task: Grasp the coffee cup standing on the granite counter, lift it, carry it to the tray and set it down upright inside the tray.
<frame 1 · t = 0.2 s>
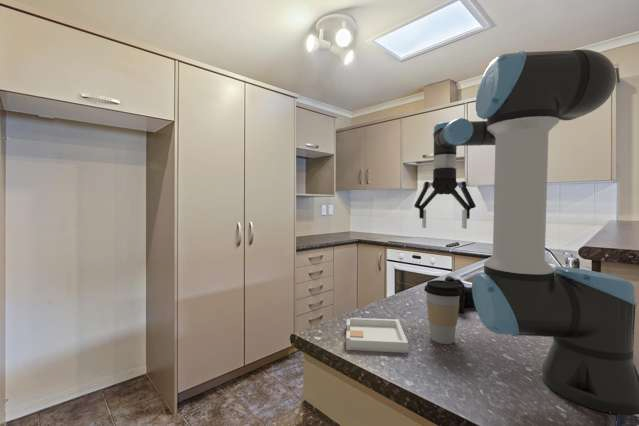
hand: (443, 228, 109), 28 cm above the counter, fingers open, 13 cm apart
tray: (374, 338, 83), on the counter
coffee cup: (442, 340, 82), on the counter
camera: (462, 307, 108), on the counter
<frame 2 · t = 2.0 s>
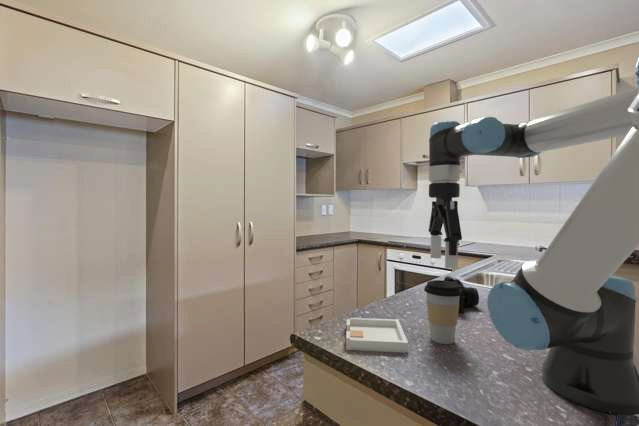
hand: (442, 262, 81), 21 cm above the counter, fingers open, 13 cm apart
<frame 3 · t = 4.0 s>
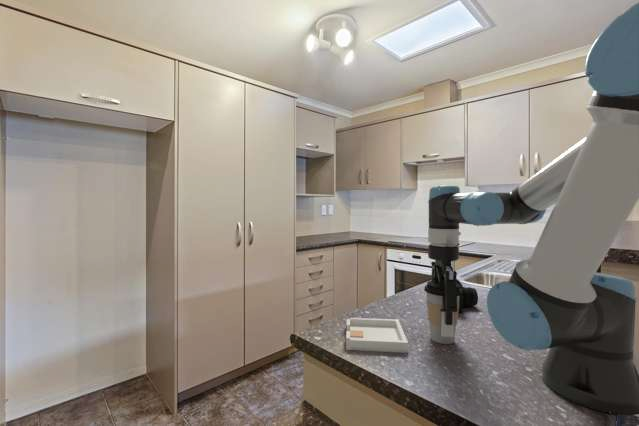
hand: (442, 329, 82), 3 cm above the counter, fingers closed on coffee cup, 8 cm apart
coffee cup: (442, 340, 82), on the counter, touching gripper
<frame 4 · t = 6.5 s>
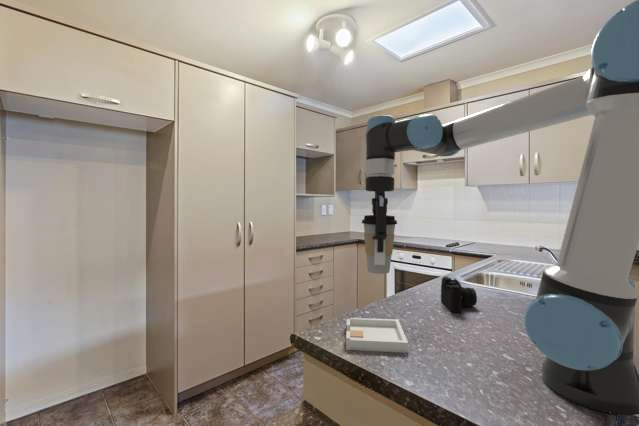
hand: (378, 261, 82), 21 cm above the counter, fingers closed on coffee cup, 8 cm apart
coffee cup: (378, 272, 82), point 18 cm above the counter, touching gripper
when the fingers open (4 cm above the counter, at t = 9.1 s): coffee cup stays where it is, resting on tray.
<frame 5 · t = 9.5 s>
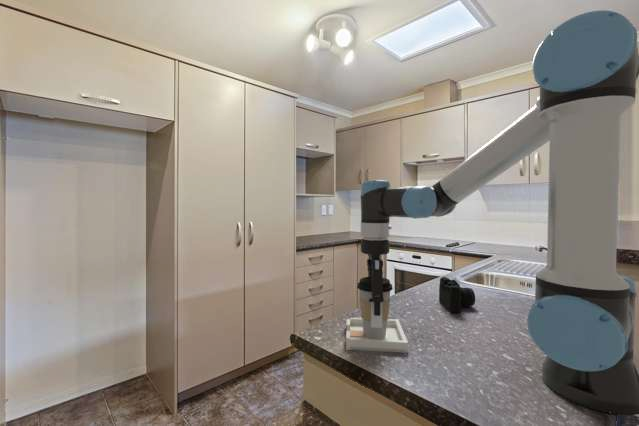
hand: (374, 317, 82), 6 cm above the counter, fingers open, 13 cm apart
coffee cup: (374, 336, 82), point 1 cm above the counter, touching tray
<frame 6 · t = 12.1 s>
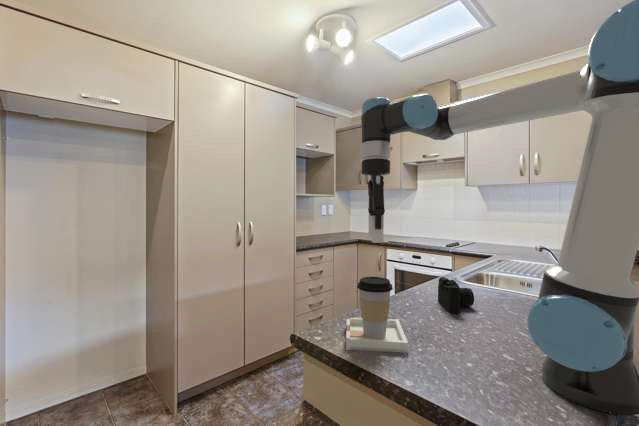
hand: (375, 239, 82), 27 cm above the counter, fingers open, 13 cm apart
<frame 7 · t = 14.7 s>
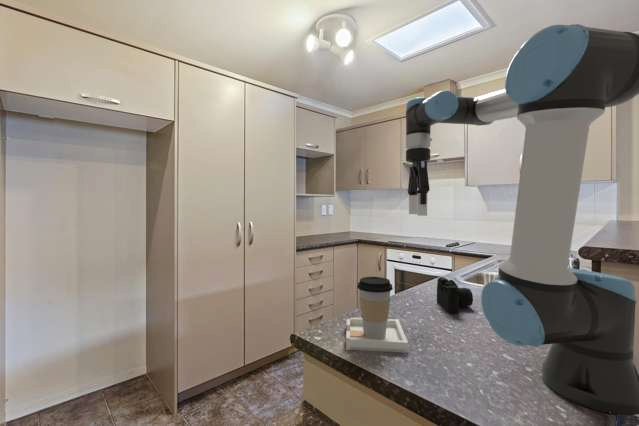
hand: (417, 214, 99), 33 cm above the counter, fingers open, 13 cm apart
at the end: coffee cup inside the target area on the tray (0.1 cm from its centre), point 0.6 cm above the tray's base; coffee cup tilted 0°; the gripper is holding nothing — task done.
